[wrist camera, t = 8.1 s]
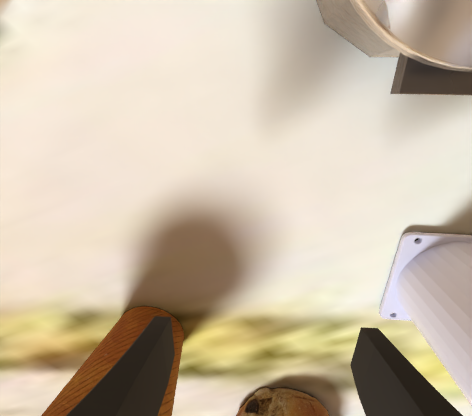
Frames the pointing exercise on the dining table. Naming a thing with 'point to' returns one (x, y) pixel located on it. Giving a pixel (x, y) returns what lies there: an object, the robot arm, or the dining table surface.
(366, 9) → the lid
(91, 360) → the disposable coffee cup
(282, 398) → the bread roll
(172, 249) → the dining table surface
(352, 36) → the pot
